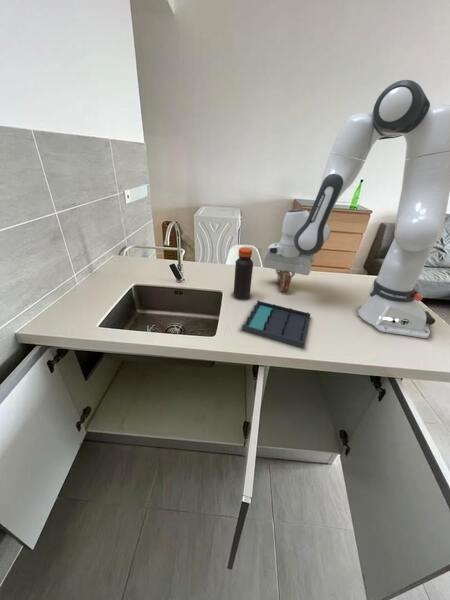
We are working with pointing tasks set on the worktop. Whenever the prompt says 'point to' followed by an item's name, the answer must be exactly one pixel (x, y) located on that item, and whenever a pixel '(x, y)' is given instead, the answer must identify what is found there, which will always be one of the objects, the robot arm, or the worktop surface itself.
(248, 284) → the bottle
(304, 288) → the worktop surface
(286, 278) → the brown flat piece
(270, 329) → the tray
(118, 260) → the worktop surface
